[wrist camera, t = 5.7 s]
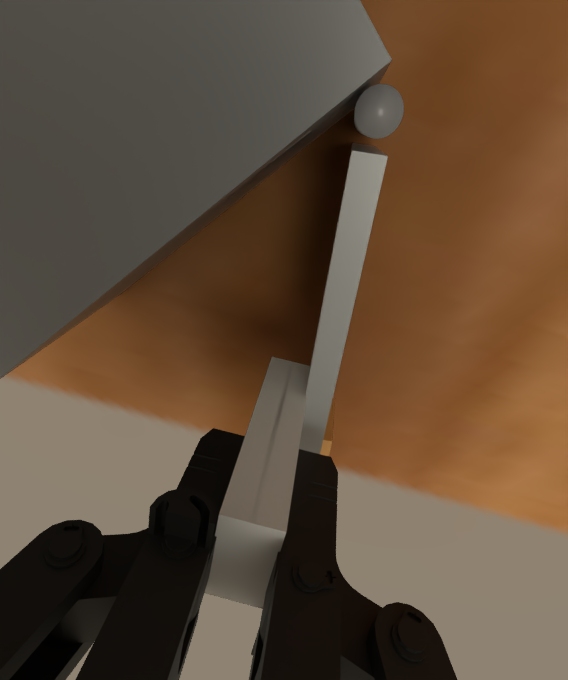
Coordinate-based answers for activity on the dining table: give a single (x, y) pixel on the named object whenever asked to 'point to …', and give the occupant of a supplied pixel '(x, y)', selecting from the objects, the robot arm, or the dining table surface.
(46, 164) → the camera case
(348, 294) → the side door
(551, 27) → the dining table surface
